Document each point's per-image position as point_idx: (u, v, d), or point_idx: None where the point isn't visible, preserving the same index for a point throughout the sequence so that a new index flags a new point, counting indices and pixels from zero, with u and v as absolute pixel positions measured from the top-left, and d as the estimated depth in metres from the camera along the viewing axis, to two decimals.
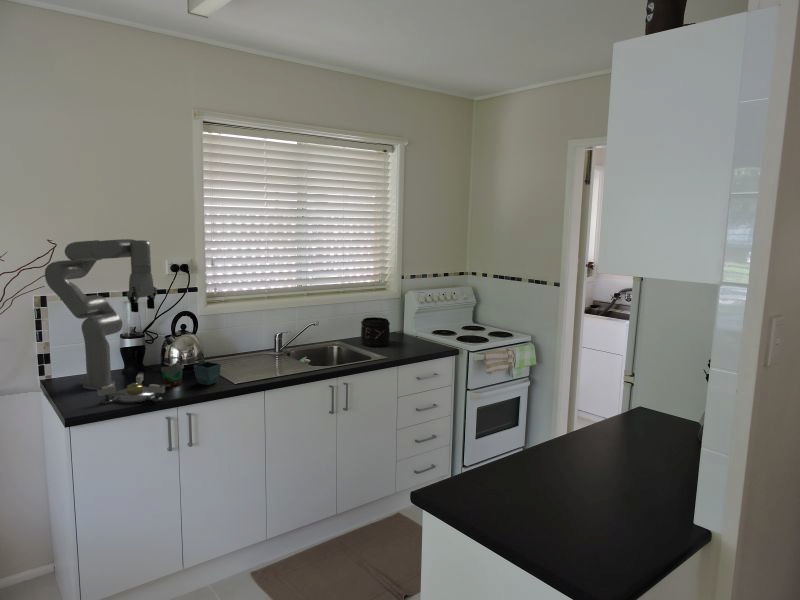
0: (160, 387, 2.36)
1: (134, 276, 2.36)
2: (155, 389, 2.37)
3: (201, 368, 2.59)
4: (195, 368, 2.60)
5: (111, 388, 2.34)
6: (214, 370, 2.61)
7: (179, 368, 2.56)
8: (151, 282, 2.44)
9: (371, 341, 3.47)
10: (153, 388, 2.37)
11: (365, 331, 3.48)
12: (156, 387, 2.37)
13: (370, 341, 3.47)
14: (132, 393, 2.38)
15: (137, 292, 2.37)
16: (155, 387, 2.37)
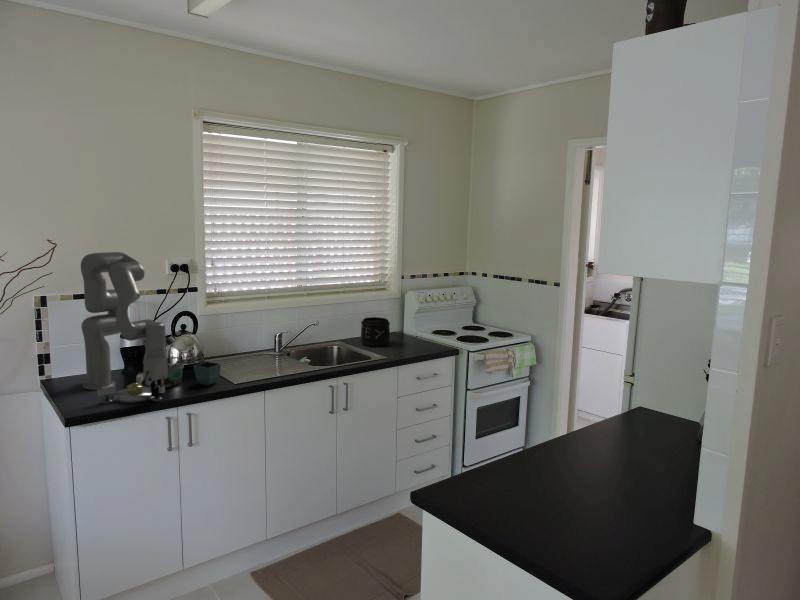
0: (160, 387, 2.36)
1: (148, 360, 2.32)
2: None
3: (201, 368, 2.59)
4: (195, 368, 2.60)
5: (111, 388, 2.34)
6: (214, 370, 2.61)
7: (179, 368, 2.56)
8: (166, 364, 2.39)
9: (371, 341, 3.47)
10: None
11: (365, 331, 3.48)
12: None
13: (370, 341, 3.47)
14: (132, 393, 2.38)
15: (152, 376, 2.32)
16: None
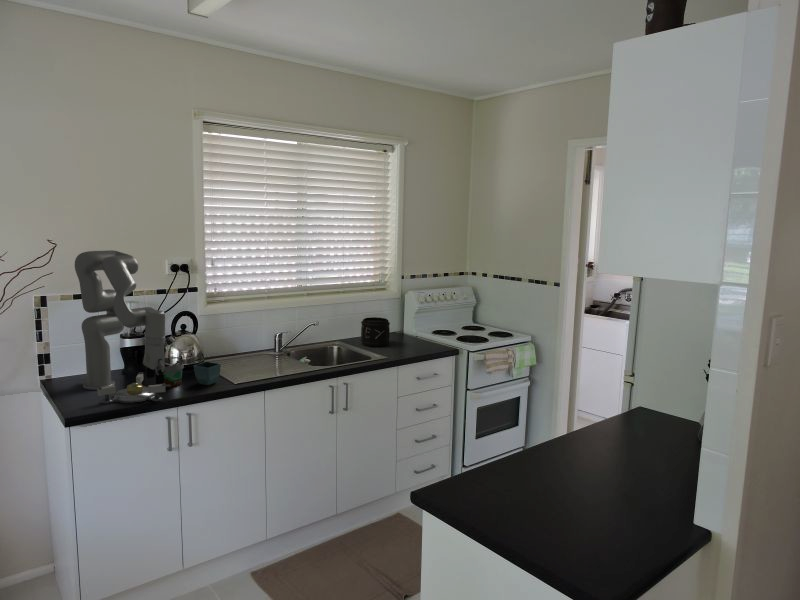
0: (163, 386, 2.38)
1: (160, 348, 2.32)
2: (157, 389, 2.37)
3: (201, 368, 2.59)
4: (195, 368, 2.60)
5: (111, 388, 2.34)
6: (214, 370, 2.61)
7: (179, 368, 2.56)
8: None
9: (371, 341, 3.47)
10: (154, 388, 2.37)
11: (365, 331, 3.48)
12: (158, 387, 2.37)
13: (370, 341, 3.47)
14: (132, 393, 2.38)
15: (164, 363, 2.34)
16: (157, 387, 2.37)
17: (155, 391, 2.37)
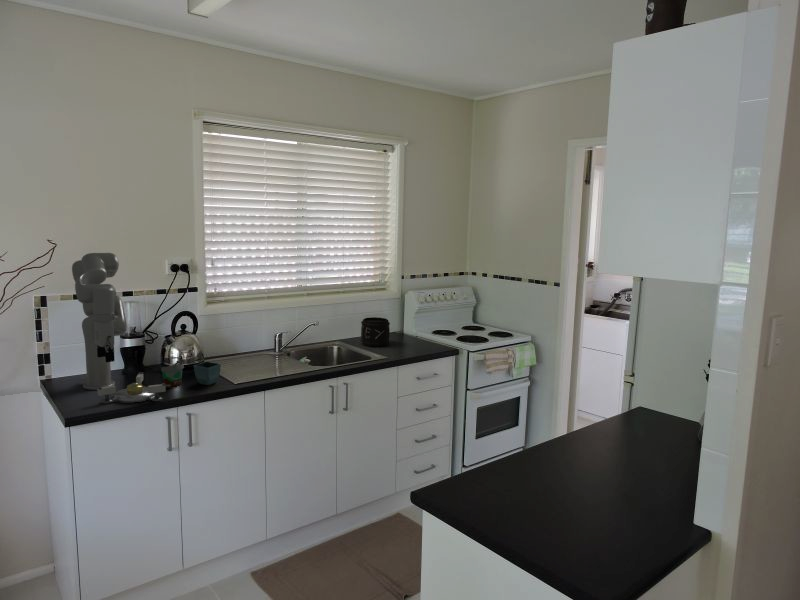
0: (163, 386, 2.38)
1: (108, 325, 2.26)
2: (157, 389, 2.37)
3: (201, 368, 2.59)
4: (195, 368, 2.60)
5: (111, 388, 2.34)
6: (214, 370, 2.61)
7: (179, 368, 2.56)
8: None
9: (371, 341, 3.47)
10: (154, 388, 2.37)
11: (365, 331, 3.48)
12: (158, 387, 2.37)
13: (370, 341, 3.47)
14: (132, 393, 2.38)
15: (113, 340, 2.28)
16: (157, 387, 2.37)
17: (155, 391, 2.37)
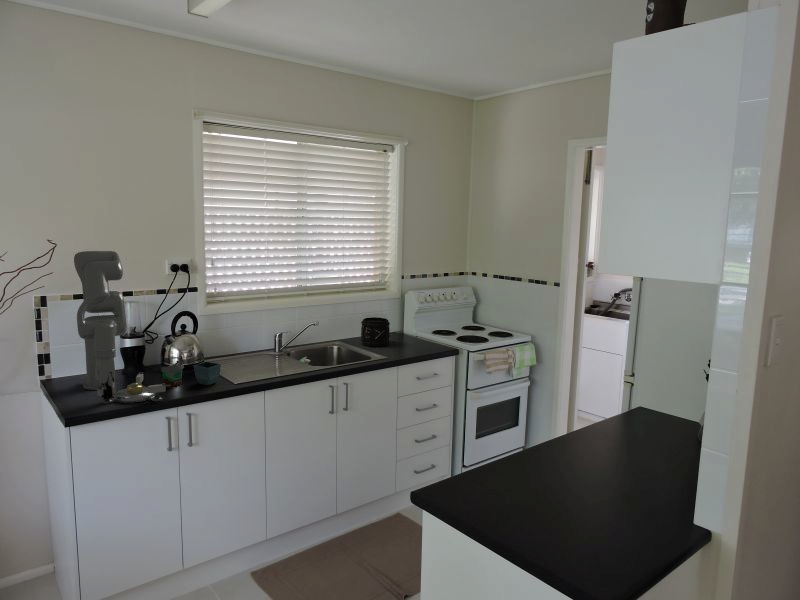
0: (163, 386, 2.38)
1: (109, 361, 2.28)
2: (157, 389, 2.37)
3: (201, 368, 2.59)
4: (195, 368, 2.60)
5: None
6: (214, 370, 2.61)
7: (179, 368, 2.56)
8: None
9: (371, 341, 3.47)
10: (154, 388, 2.37)
11: (365, 331, 3.48)
12: (158, 387, 2.37)
13: (370, 341, 3.47)
14: (132, 393, 2.38)
15: (114, 376, 2.30)
16: (157, 387, 2.37)
17: (155, 391, 2.37)
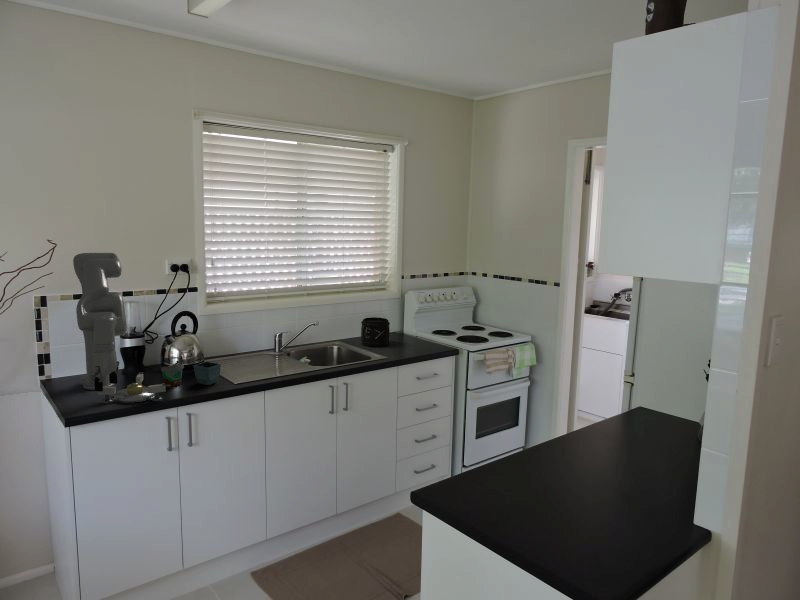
0: (163, 386, 2.38)
1: (98, 355, 2.27)
2: (157, 389, 2.37)
3: (201, 368, 2.59)
4: (195, 368, 2.60)
5: (110, 389, 2.33)
6: (214, 370, 2.61)
7: (179, 368, 2.56)
8: (115, 358, 2.35)
9: (371, 341, 3.47)
10: (154, 388, 2.37)
11: (365, 331, 3.48)
12: (158, 387, 2.37)
13: (370, 341, 3.47)
14: (132, 393, 2.38)
15: (102, 371, 2.28)
16: (157, 387, 2.37)
17: (155, 391, 2.37)
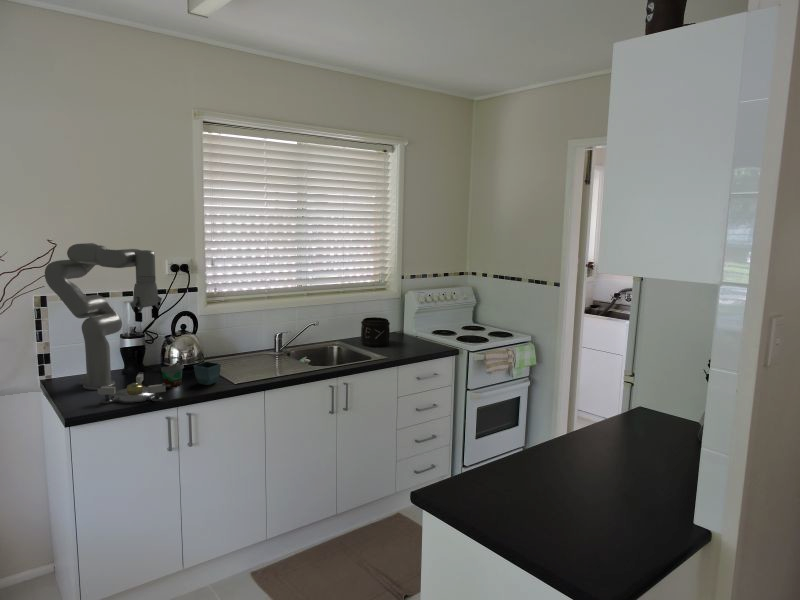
0: (163, 386, 2.38)
1: (138, 286, 2.37)
2: (157, 389, 2.37)
3: (201, 368, 2.59)
4: (195, 368, 2.60)
5: (109, 389, 2.32)
6: (214, 370, 2.61)
7: (179, 368, 2.56)
8: (156, 292, 2.45)
9: (371, 341, 3.47)
10: (154, 388, 2.37)
11: (365, 331, 3.48)
12: (158, 387, 2.37)
13: (370, 341, 3.47)
14: (132, 393, 2.38)
15: (141, 302, 2.38)
16: (157, 387, 2.37)
17: (155, 391, 2.37)
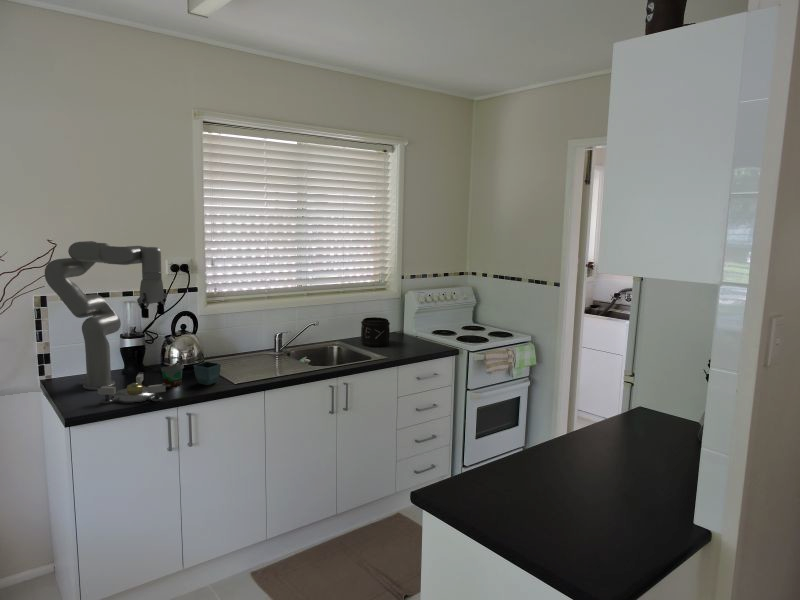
0: (163, 386, 2.38)
1: (144, 282, 2.39)
2: (157, 389, 2.37)
3: (201, 368, 2.59)
4: (195, 368, 2.60)
5: (109, 389, 2.32)
6: (214, 370, 2.61)
7: (179, 368, 2.56)
8: (162, 288, 2.47)
9: (371, 341, 3.47)
10: (154, 388, 2.37)
11: (365, 331, 3.48)
12: (158, 387, 2.37)
13: (370, 341, 3.47)
14: (132, 393, 2.38)
15: (148, 298, 2.40)
16: (157, 387, 2.37)
17: (155, 391, 2.37)
